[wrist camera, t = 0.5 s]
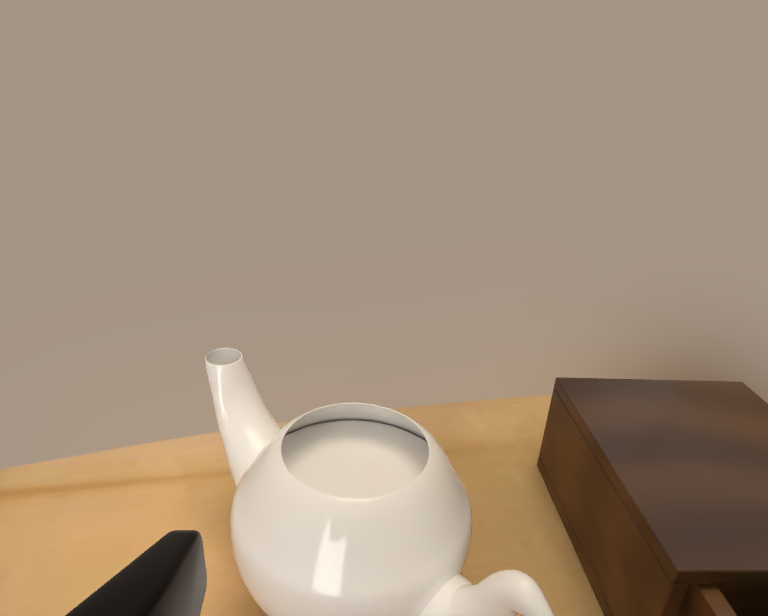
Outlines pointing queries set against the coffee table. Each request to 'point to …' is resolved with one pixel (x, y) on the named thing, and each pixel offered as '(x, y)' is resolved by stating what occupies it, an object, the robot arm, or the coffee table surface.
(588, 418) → the cabinet
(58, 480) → the coffee table surface
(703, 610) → the drawer
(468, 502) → the teapot
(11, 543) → the coffee table surface
